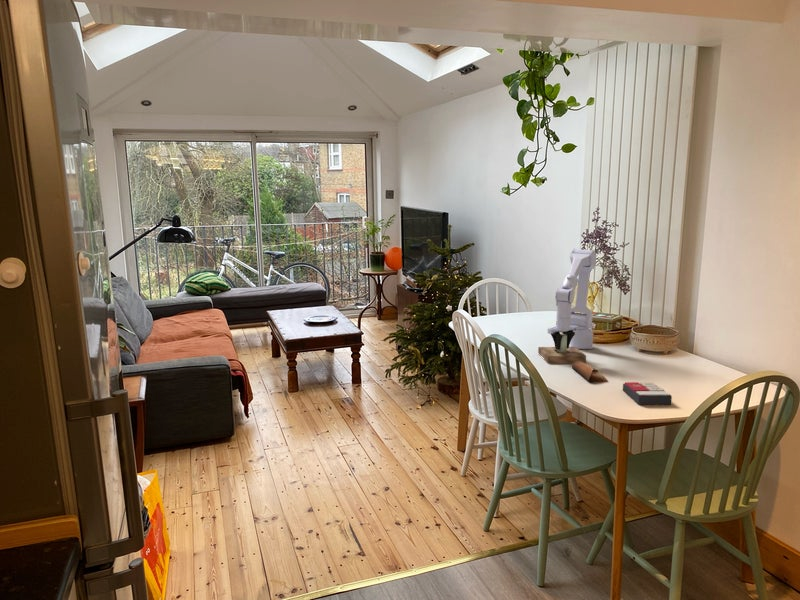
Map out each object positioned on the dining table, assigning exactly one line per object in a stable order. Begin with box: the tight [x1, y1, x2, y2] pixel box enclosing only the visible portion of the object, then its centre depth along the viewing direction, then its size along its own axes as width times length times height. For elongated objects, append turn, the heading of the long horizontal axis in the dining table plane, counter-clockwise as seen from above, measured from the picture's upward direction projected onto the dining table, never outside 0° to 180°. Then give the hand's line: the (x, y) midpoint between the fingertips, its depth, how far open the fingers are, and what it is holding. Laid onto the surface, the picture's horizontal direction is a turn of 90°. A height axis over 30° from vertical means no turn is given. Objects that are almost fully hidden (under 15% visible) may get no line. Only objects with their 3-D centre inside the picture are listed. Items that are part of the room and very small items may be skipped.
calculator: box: [622, 381, 673, 406], centre depth 209 cm, size 11×4×15 cm
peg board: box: [537, 346, 587, 364], centre depth 255 cm, size 16×14×3 cm
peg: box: [557, 333, 567, 353], centre depth 255 cm, size 4×4×8 cm
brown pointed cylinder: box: [571, 361, 609, 384], centre depth 233 cm, size 18×7×7 cm
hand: (561, 348), depth 255 cm, fingers closed on peg, 4 cm apart
